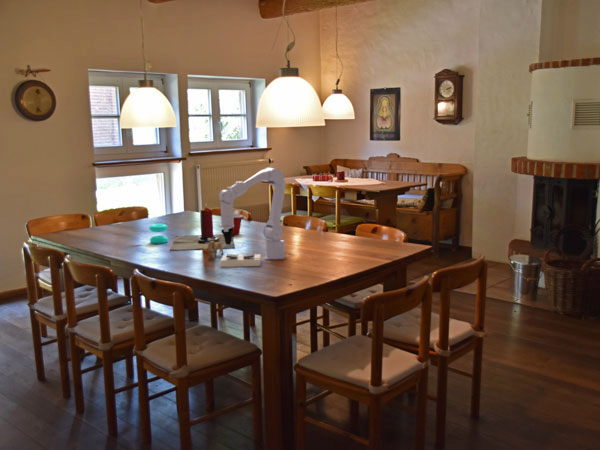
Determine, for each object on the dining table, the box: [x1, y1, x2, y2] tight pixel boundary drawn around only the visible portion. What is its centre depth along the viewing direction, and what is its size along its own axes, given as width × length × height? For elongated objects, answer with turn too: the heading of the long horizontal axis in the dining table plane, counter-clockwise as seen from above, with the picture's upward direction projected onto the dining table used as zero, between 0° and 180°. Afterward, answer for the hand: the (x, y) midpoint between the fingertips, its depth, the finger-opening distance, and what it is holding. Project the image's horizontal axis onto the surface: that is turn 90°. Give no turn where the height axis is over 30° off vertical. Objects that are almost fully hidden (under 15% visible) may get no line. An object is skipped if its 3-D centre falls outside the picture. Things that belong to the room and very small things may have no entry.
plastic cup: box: [232, 213, 244, 236], centre depth 341 cm, size 11×11×12 cm
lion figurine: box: [207, 240, 224, 259], centre depth 284 cm, size 15×5×9 cm, turn 172°
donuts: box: [149, 223, 169, 245], centre depth 321 cm, size 10×10×10 cm
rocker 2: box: [243, 252, 255, 259], centre depth 266 cm, size 5×4×2 cm
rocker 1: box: [226, 253, 239, 259], centre depth 266 cm, size 5×4×2 cm
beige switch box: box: [220, 253, 262, 268], centre depth 269 cm, size 18×11×3 cm, turn 91°
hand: (228, 244), depth 267 cm, fingers closed
